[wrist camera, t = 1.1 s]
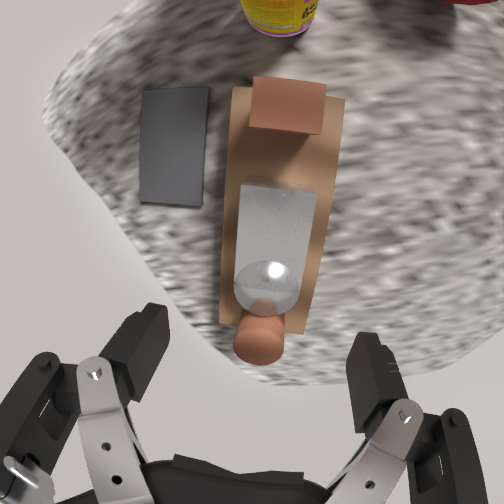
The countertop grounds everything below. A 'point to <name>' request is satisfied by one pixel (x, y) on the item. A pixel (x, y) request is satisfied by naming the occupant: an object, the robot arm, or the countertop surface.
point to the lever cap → (272, 243)
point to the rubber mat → (173, 145)
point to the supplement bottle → (280, 16)
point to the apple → (470, 1)
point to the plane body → (282, 168)
